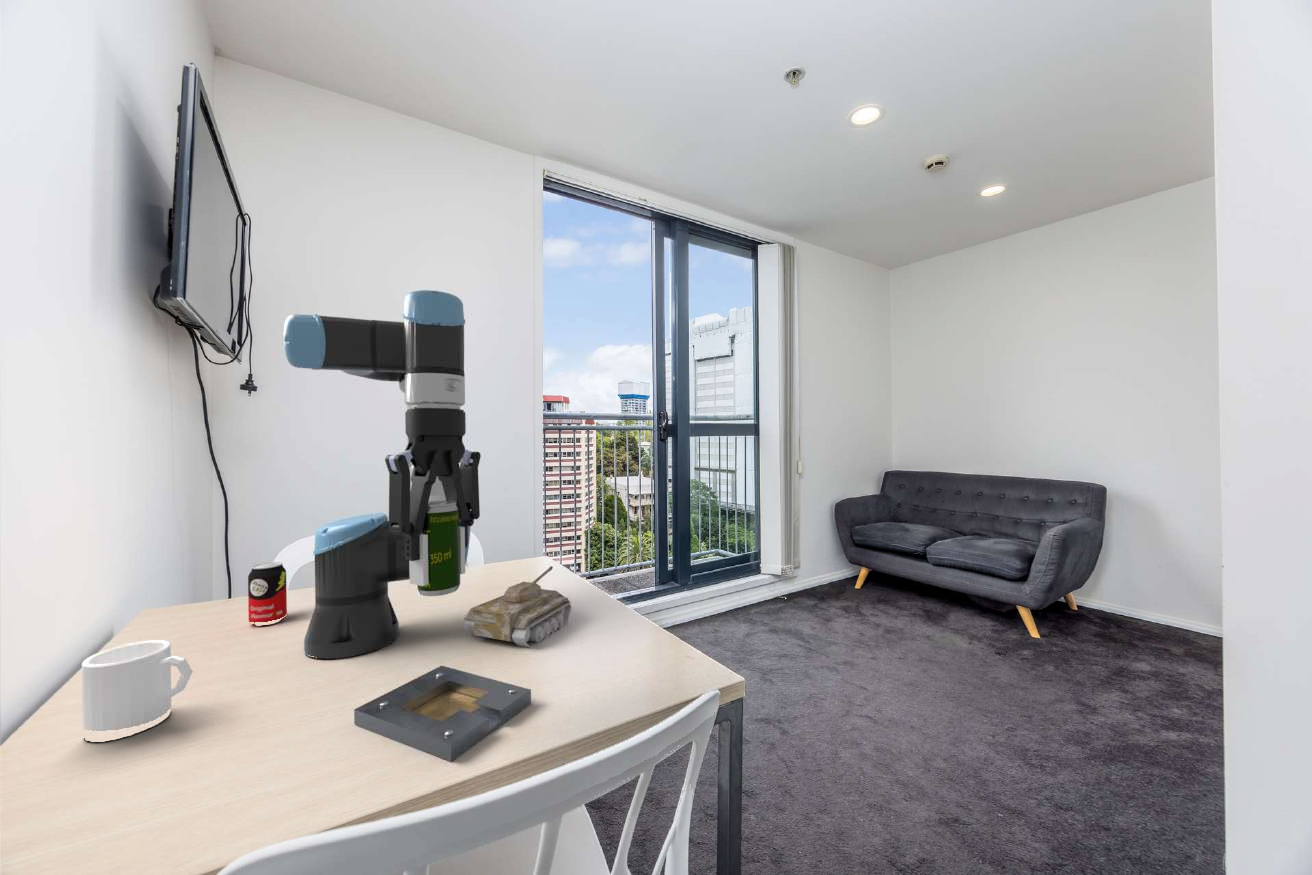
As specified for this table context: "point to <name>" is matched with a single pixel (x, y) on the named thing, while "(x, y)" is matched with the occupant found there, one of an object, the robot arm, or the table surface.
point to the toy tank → (520, 614)
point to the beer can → (442, 548)
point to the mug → (130, 685)
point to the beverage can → (267, 592)
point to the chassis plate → (443, 711)
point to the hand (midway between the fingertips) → (438, 577)
